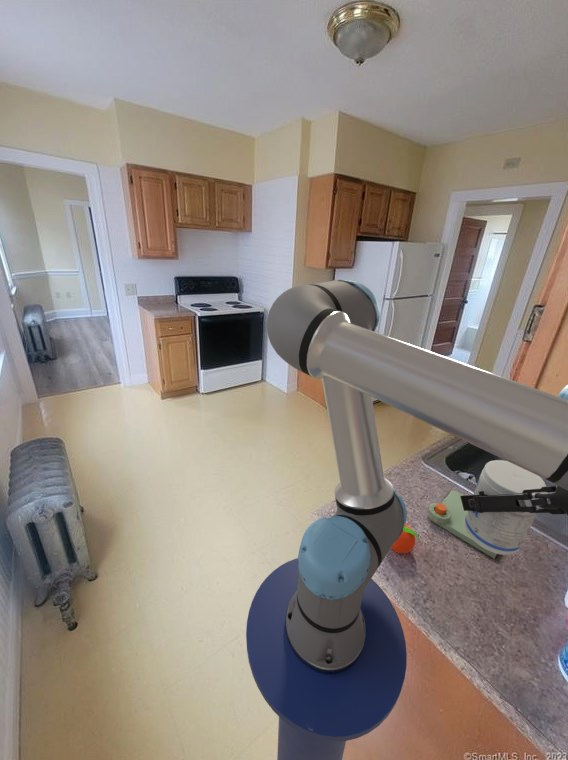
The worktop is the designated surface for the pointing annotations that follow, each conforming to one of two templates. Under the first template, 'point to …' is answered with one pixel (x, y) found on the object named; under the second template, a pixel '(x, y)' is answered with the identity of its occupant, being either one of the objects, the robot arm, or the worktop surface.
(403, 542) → the clementine
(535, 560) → the worktop surface
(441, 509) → the tare button
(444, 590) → the worktop surface
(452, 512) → the scale
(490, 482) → the supplement tub
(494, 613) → the worktop surface
